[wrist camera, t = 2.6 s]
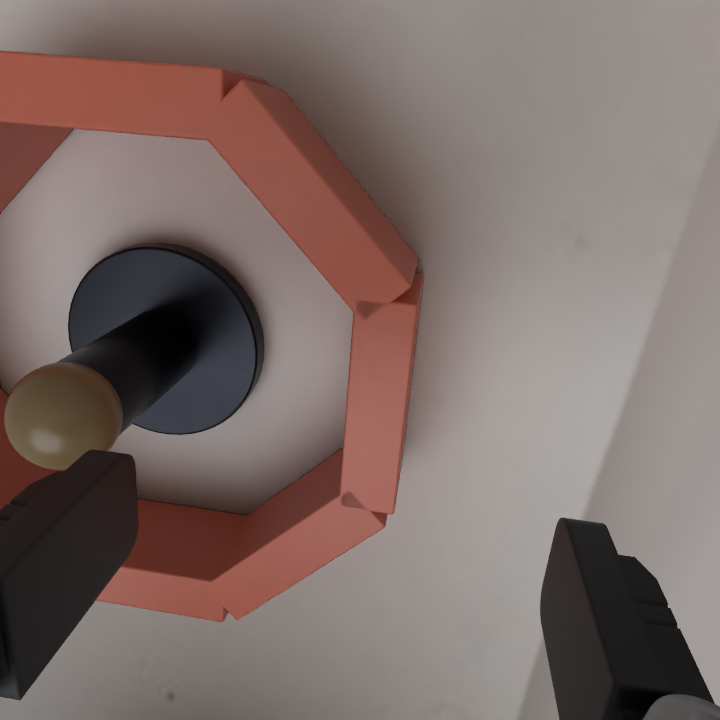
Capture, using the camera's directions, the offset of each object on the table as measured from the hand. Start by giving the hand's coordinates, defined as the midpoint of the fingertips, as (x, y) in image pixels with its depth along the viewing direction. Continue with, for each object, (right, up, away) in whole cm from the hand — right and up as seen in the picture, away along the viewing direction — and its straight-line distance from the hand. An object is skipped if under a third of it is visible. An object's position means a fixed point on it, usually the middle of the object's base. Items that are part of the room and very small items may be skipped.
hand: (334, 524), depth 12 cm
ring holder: (-6, +4, +9) cm, 11 cm away
